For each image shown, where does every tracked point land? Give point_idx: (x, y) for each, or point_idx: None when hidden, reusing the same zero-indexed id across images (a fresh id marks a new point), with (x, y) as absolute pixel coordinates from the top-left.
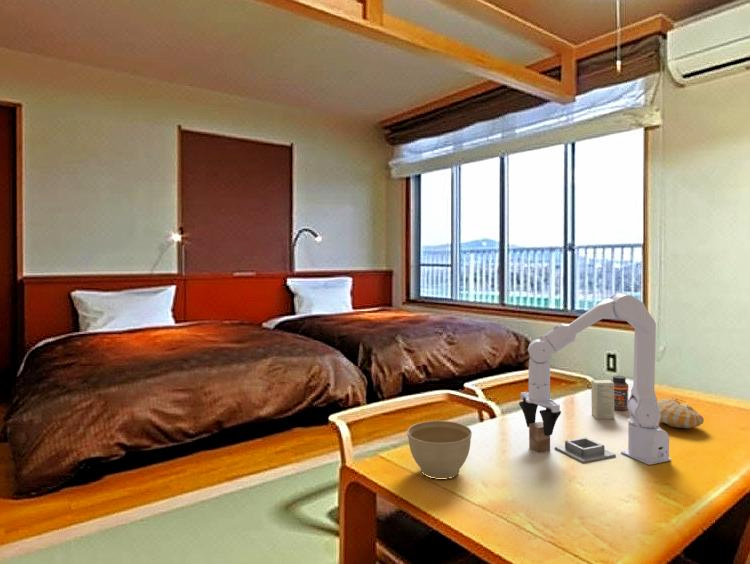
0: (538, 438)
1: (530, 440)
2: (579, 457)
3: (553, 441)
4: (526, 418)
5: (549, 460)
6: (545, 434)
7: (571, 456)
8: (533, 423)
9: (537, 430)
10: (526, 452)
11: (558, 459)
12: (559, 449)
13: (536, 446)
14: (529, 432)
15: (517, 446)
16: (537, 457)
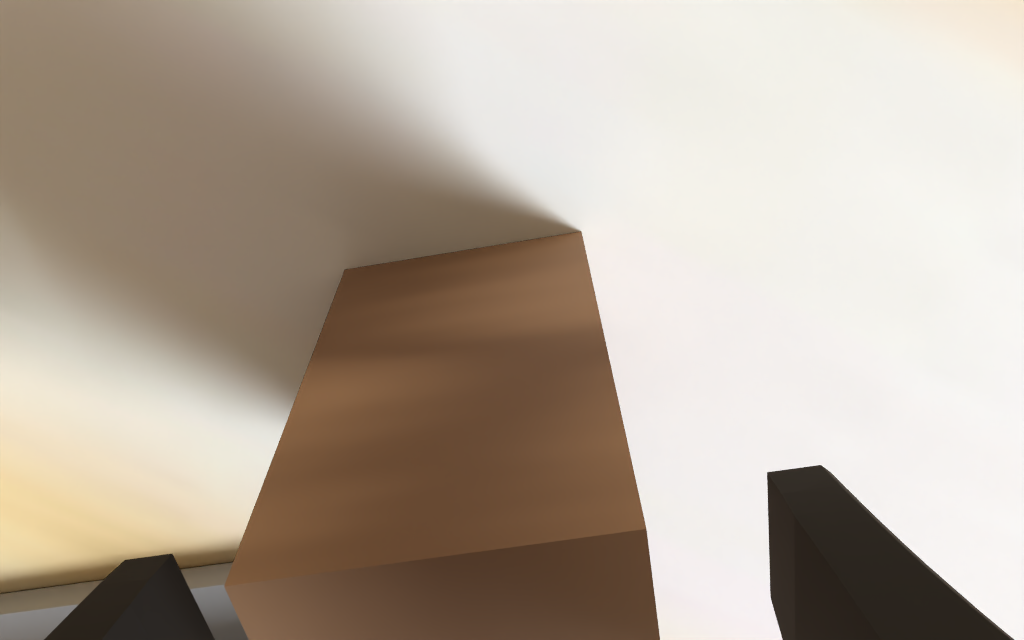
0: (293, 412)
1: (556, 302)
2: (33, 638)
3: (698, 620)
4: (888, 618)
5: (13, 283)
6: (112, 575)
7: None
8: (616, 625)
9: (270, 522)
10: (392, 87)
11: (57, 412)
12: None
13: (382, 305)
14: (604, 382)
15: (710, 61)
16: (144, 165)
